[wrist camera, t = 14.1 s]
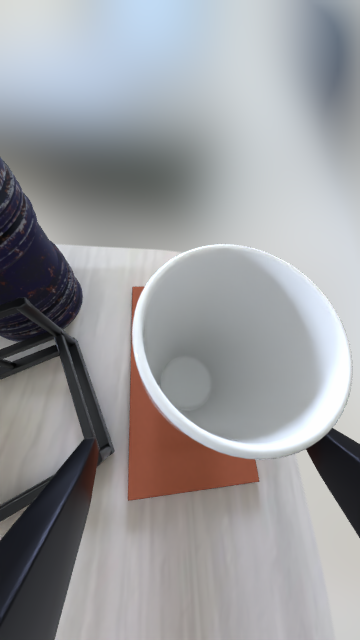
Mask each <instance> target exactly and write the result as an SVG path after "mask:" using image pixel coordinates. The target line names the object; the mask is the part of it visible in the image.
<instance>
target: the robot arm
mask: <svg viewBox="0 0 360 640" xmlns="http://www.w3.org/2000/svg"><path fill="white" fill-rule="evenodd" d="M306 450H307V452H308V454H309V456H310V457H311V459H312V461H313V463H314V465H315V467H316V469H317V471H318V472H319V474H320V476H321V477H322V479H323V481H324V482H325V484H326V485H327V487H328V489H329V490H330V492H331V493H332V495H333V496H334V498H335V500H336V501H337V503H338V504H339V506H340V507H341V509H342V511H343V512H344V514H345V515H346V517H347V519H348V520H349V522H350V523H351V525H352V526H353V528H354V530H355V531H356V533H357V534H358V536H359V538H360V444H358V443H357V442H355V441H354V440H352V439H350V438H349V437H347V436H345V435H343V434H342V433H340V432H338V431H337V430H335V429H333V428H332V429H331V430H330V431H329V432H328V433H327V434H326V435H325V436H324V437H323V438H322V439H321V440H319V441H318V442H316V443H315V444H313V445H312V446H311V447H309V448H307V449H306ZM98 455H99V452H98V446H97V441H96V438H94V437H93V438H85V439H84V440H83V441H82V442H81V443H80V444H79V446H78V447H77V448H76V449H75V451H74V452H73V453H72V454H71V455H70V457H69V458H68V459H67V460H66V461H65V463H64V464H63V465H62V466H61V467H60V469H59V470H58V471H57V472H56V474H55V475H54V476H53V477H52V478H51V480H50V481H49V482H48V483H47V484H46V486H45V487H44V488H43V489H42V491H41V492H40V493H39V494H38V495H37V497H36V498H35V499H34V500H33V501H32V503H31V504H30V505H29V506H28V507H27V509H26V510H25V511H24V512H23V514H22V515H21V516H20V517H19V518H18V520H17V521H16V522H15V523H14V524H13V526H12V527H11V528H10V529H9V530H8V532H7V533H6V534H5V535H4V537H3V538H2V539H1V540H0V640H54V639H55V636H56V632H57V628H58V624H59V620H60V617H61V613H62V609H63V605H64V602H65V598H66V594H67V590H68V587H69V583H70V579H71V575H72V572H73V568H74V564H75V560H76V557H77V553H78V549H79V545H80V542H81V538H82V534H83V530H84V527H85V523H86V519H87V515H88V511H89V507H90V502H91V497H92V491H93V485H94V480H95V474H96V468H97V462H98Z"/></svg>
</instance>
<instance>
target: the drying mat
mask: <svg viewBox="0 0 360 640" xmlns="http://www.w3.org/2000/svg"><path fill="white" fill-rule="evenodd" d="M143 289H144V287H133V288H132V326H133V318H134V313H135V309H136V306H137V302H138V300H139V297H140V295H141V293H142V291H143ZM252 482H259V477H258V472H257V467H256V462H255V459H245V458H239V457H234V456H230V455H227V454H223V453H220V452H218V451H215V450H213V449H211V448H208V447H206V446H204V445H202V444H201V443H199V442H196V441H195V440H193V439H191V438H189V437H188V436H186V435H184V434H183V433H181V432H180V431H178V430H177V429H176V428H174V427H173V426H172V425H171V424H169V423H168V422H167V421H166V420H165V419H164V418H163V417H162V416H161V415H160V413H159V412H158V411H157V410H156V408H155V407H154V406H153V404H152V403H151V401H150V399H149V398H148V396H147V394H146V392H145V390H144V387H143V385H142V382H141V379H140V376H139V373H138V369H137V365H136V361H135V357H134V351H133V344H132V335H131V382H130V429H129V476H128V500H136V499H143V498H150V497H157V496H163V495H170V494H177V493H184V492H191V491H198V490H204V489H211V488H218V487H225V486H232V485H239V484H245V483H252Z"/></svg>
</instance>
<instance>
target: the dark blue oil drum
mask: <svg viewBox="0 0 360 640" xmlns="http://www.w3.org/2000/svg"><path fill="white" fill-rule="evenodd" d="M23 297H25V298H26V299H27V300H29V301H30V303H31V304H32V305H33V306H34V307H35V308H37V309H38V310H39V311H40V312H41V313H43V314H44V315H45V316H46V317H48V318H49V319H50V320H51V321H52V322H54V323H55V324H56V325H57V326H58V327H61V328H62V329H64V328H65V327H66V326H68V325H69V324H70V323H71V322H72V321H73V319H74V318H75V317H76V315H77V314H78V312H79V310H80V307H81V304H82V298H83V295H82V289H81V286H80V284H79V282H78V280H77V279H76V278H75V276H74V273H73V271H72V269H71V267H70V266H69V264H68V262H67V261H66V259H65V258H64V256H63V254H62V253H61V252H60V251H59V249H58V248H57V247H56V245H55V244H53V243H52V242H51V241H50V240H49V239H48V238H47V236H46V235H45V233H44V231H43V230H42V228H41V227H40V226H39V224H38V222H37V218H36V214H35V212H34V210H33V207H32V204H31V202H30V200H29V199H28V197H27V196H26V195H25V194H24V193H23V192H22V189H21V187H20V185H19V183H18V181H17V180H16V178H15V176H14V175H13V173H12V171H11V170H10V168H9V167H8V165H7V164H6V163H5V162H4V161H3V160H2V159H1V158H0V305H1V304H5V303H8V302H11V301H14V300H15V299H17V298H23ZM46 332H48V331H46V330H45V329H43V328H42V327H41V326H39V325H38V324H36V323H35V322H33V321H32V320H31V319H29V318H28V317H26V316H25V315H23V314H22V313H21V312H19V313H16V314H13V315H10V316H7V317H4V318H1V319H0V336H2V337H4V338H6V339H9V340H12V341H17V342H22V341H24V340H27V339H30V338H32V337H35V336H38V335H40V334H43V333H46Z"/></svg>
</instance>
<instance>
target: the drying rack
mask: <svg viewBox="0 0 360 640" xmlns="http://www.w3.org/2000/svg"><path fill="white" fill-rule="evenodd" d="M19 312H21V313H22V314H23V315H25V316H26V317H28V318H29V319H31V320H32V321H33V322H35V323H36V324H38V325H39V326H41V327H42V328H43V329H45V330H46V331H48V332H46V333H43V334H40V335H38V336H35V337H32V338H30V339H27V340H24V341H22V342H19V343H16V344H14V345H11V346H8V347H6V348H3V349H0V379H3V378H5V377H8V376H10V375H12V374H15V373H17V372H20V371H22V370H25V369H27V368H29V367H32V366H34V365H37V364H39V363H41V362H44V361H46V360H49V359H51V358H54V357H56V356H58V355H60V358H61V361H62V365H63V368H64V372H65V375H66V378H67V382H68V385H69V389H70V392H71V395H72V399H73V402H74V405H75V409H76V412H77V416H78V419H79V422H80V426H81V429H82V433H83V436H84V439H85V438H93V437H94V438H96V441H97V446H98V452H99V455H98V462H97V466H98V465H99V464H100V463H102V462H103V461H104V460H105V459H106V458H107V457H108V456H109V455H111V454H112V453H113V452H114V448H113V445H112V442H111V439H110V436H109V433H108V430H107V427H106V424H105V421H104V418H103V415H102V412H101V409H100V406H99V403H98V400H97V397H96V395H95V392H94V389H93V386H92V383H91V380H90V377H89V374H88V371H87V368H86V365H85V362H84V359H83V356H82V353H81V350H80V347H79V344H78V341H77V340H76V339H75V338H72V337H70V336H69V335H68V334H67V333H66V332H64V330H63V329H62V328H61V327H58V326H57V325H56V324H55V323H54V322H52V321H51V320H50V319H49V318H48V317H46V316H45V315H44V314H43V313H41V312H40V311H39V310H38V309H37V308H35V307H34V306H33V305H32V304H31V303H30V301H29V300H27V299H26V298H25V297H23V298H17V299H15V300H14V301H11V302H8V303H5V304H1V305H0V319H1V318H4V317H7V316H10V315H13V314H16V313H19ZM53 339H55V341H56V345H53V346H51V347H48V348H46V349H43V350H41V351H38V352H36V353H33V354H31V355H28V356H26V357H23V358H21V359H18V360H16V361H13V362H11V361H8V360H4V358H6V357H9V356H12V355H14V354H17V353H19V352H22V351H24V350H27V349H30V348H32V347H35V346H37V345H40V344H42V343H45V342H48V341H50V340H53ZM70 356H71V357H70ZM71 359H72V360H71ZM72 362H73V363H72ZM75 372H76V373H75ZM76 375H77V376H76ZM77 378H78V379H77ZM81 391H82V392H81ZM82 394H83V395H82ZM83 397H84V398H83ZM87 410H88V411H87ZM88 413H89V414H88ZM89 416H90V417H89ZM93 429H94V430H93ZM94 432H95V433H94ZM95 435H96V436H95ZM99 448H100V449H99ZM54 475H55V474H54ZM54 475H53V476H54ZM53 476H51V477H49V478H47V479H46V480H44V481H42V482H40V483H39V484H37V485H35V486H33V487H32V488H30V489H28V490H26V491H25V492H23V493H21V494H19V495H18V496H16V497H14V498H12V499H11V500H9V501H7V502H5V503H4V504H2V505H0V522H1V521H2V520H4V519H6V518H7V517H9V516H11V515H12V514H14V513H16V512H17V511H19V510H21V509H23V508H24V507H26V506H28V505H29V504H31V503H32V501H33V500H34V499H35V498H36V497H37V495H38V494H39V493H40V492H41V491H42V489H43V488H44V487H45V486H46V484H47V483H48V482H49V481H50V480H51V478H52V477H53Z"/></svg>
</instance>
